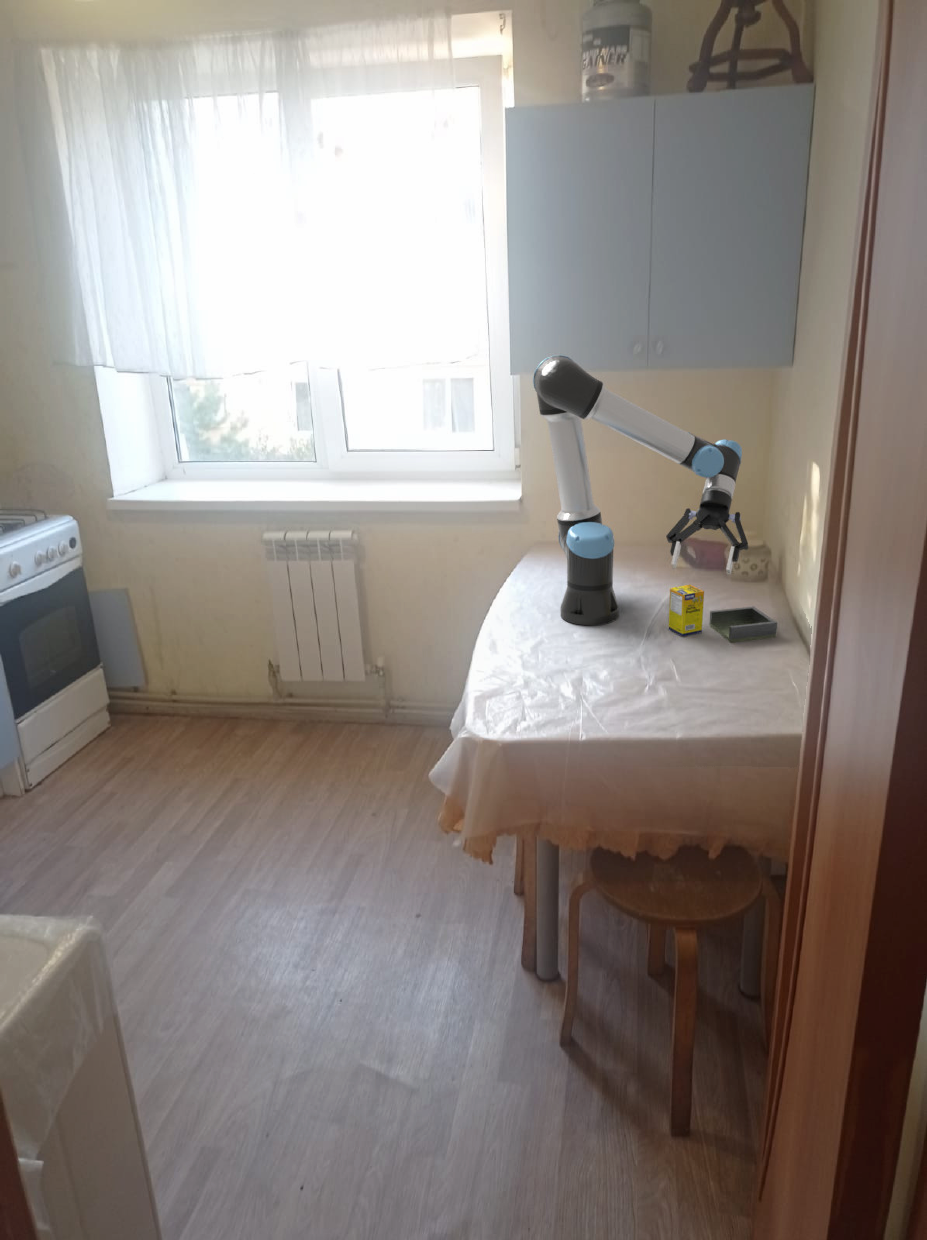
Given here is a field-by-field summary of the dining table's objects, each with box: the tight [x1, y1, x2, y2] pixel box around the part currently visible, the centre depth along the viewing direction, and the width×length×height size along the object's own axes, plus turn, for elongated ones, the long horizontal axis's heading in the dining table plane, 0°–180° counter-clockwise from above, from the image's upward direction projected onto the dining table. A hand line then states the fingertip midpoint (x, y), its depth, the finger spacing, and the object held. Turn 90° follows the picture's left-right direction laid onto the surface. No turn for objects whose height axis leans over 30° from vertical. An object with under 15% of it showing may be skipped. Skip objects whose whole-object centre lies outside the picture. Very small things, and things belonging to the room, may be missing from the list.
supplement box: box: [668, 584, 705, 637], centre depth 215 cm, size 6×6×11 cm
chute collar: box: [708, 606, 778, 644], centre depth 214 cm, size 12×12×4 cm
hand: (700, 569), depth 219 cm, fingers open, 13 cm apart
